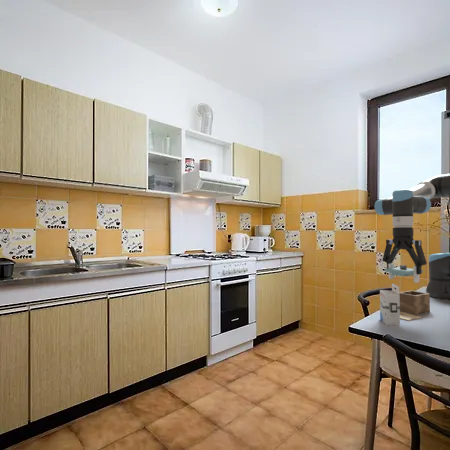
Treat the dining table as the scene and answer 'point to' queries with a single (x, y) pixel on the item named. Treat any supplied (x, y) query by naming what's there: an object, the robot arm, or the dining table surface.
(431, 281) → the robot arm
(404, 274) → the lid
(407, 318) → the trivet
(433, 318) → the dining table surface
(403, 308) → the box
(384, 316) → the ink box
